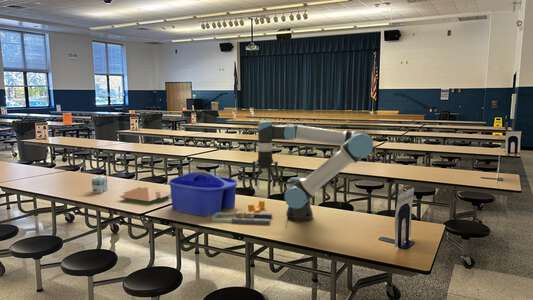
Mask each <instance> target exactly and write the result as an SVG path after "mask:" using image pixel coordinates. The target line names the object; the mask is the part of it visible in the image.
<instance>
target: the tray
mask: <svg viewBox="0 0 533 300" xmlns="http://www.w3.org/2000/svg"><path fill="white" fill-rule="evenodd" d="M236 213H237V212H231V211H224V212H223V211H221V212H216V213H215V214H212V217H210V222H215V223H216V222H217V223H218V222H220V223H232V219H233V218H223V217H221V218H219V217H218V216H229V217H230V216H232V217H236Z"/></svg>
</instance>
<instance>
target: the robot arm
mask: <svg viewBox="0 0 533 300" xmlns="http://www.w3.org/2000/svg"><path fill="white" fill-rule="evenodd" d="M257 124H258V128H257V138H258V139H257V149H258V151H257V160H253V161H252V171H251V180H254V186H255V187H256V193H257V194H259V193H260V180H259V177H260V175H261V172H262V169H268V171H269V174H270V176H271V179H272V180H271V194H274V191H275V190H274V188H275V187H276V183H277V182H276V181H279V179H280V176H279V175H280V174H279V167H278V164H279V161H275V160H274V159H273V140H278V141H280V140H281V141H293V140H295V139H298V140H303V141H310V142H316V143H323V144H328V145H334V146H335V145H336V146H340V148H339V149H340V150H338V151H337V152H336V153H335V154H333V155H332V156H330V157H329V158H328V159H327V160H326V161H325V162H323V163H322V164H321V165H319V166H318V167H317V168H316V169H315V170H314V171H312V172H311V173H310V174H308V175H307V176H305V177H299V176H298V177H297V176H296V177H290V178H289V181H288V183H289V186H288V188H287V189H286V191H285V192H284V201H285V204H286V205H287V206H288V207H287V210H286V215H285V216H286V217H287V220H289V221H293V222H301V223H302V222H308V221H311V220H313V218H314V214H313V210H312V206H311V199H312V198H313V197H315V196H316V191H317V190H319V189H320V188H321V187H323V186H324V185H325V184H327V182H329V181H330V180H331V179H333V178H334V177H335V176H336V175H338V174H339V173H340V172H341V171H343V170H344V169H345V168H347V167H348V166H349V165H350V164H354V163H355V164H356V163H358V162H359V161H360V160H362V159H363V158H366V157H368V156H369V155H370V154H371V152H372V151H373V149H374V142H373V139H372V138H371V136H370V135H369V133H367V132H365V131H361V130H347V129H346V130H345V131H341V130H334V129H327V128H320V127H313V126H309V125H301V124H300V125H299V124H293V123H290V122H289V123H288V122H287V123H285V124H282V125H279V124H278V125H277V124H276V125H275V124H274V125H273V121H270V120H263V121H262V120H261V121H259V122H258V123H257ZM257 164H258V165H259V168H258V170H257V173H256V168H257V167H256V166H257ZM272 164H273V165H274V170H273V167H272ZM274 172H275V173H274Z"/></svg>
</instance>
